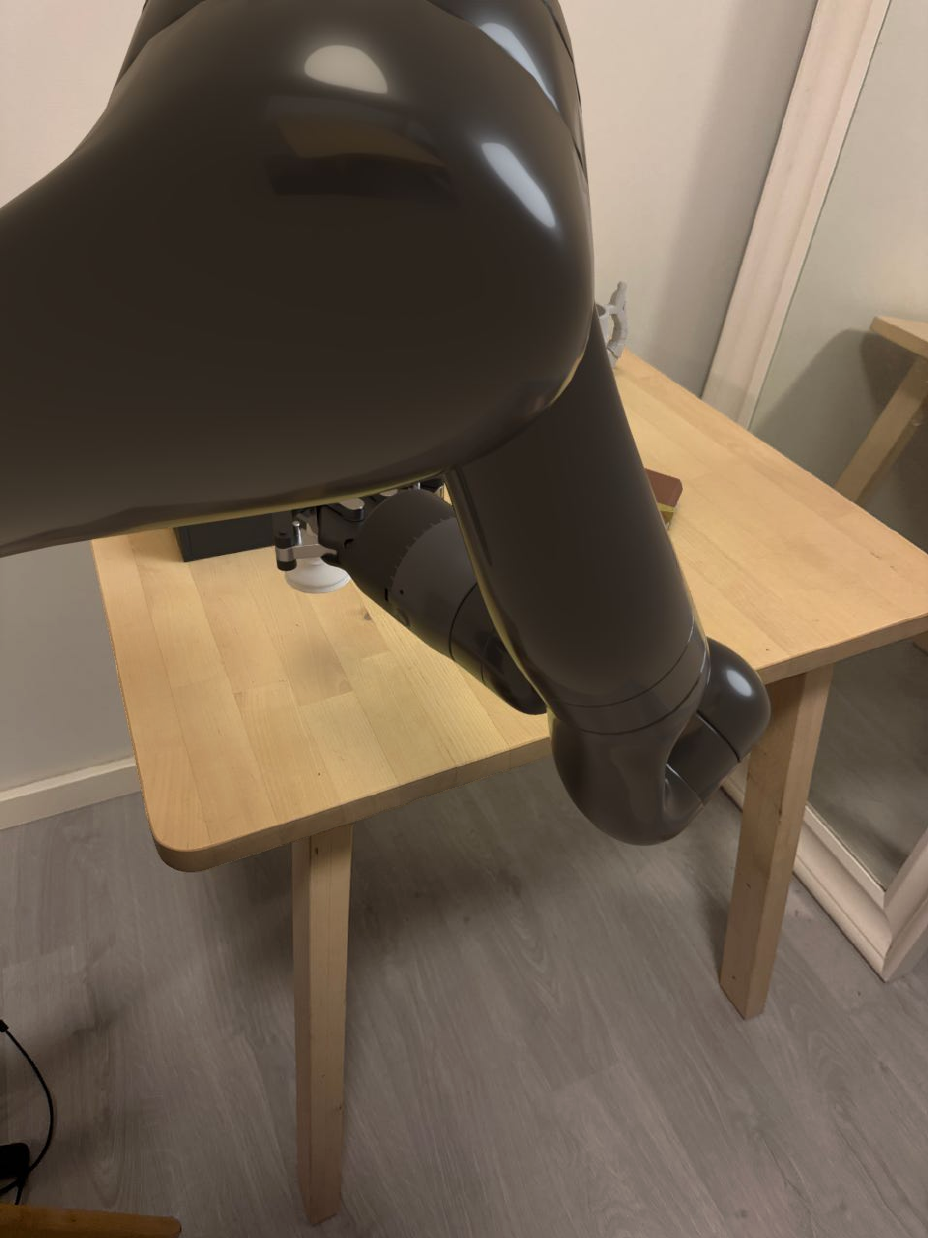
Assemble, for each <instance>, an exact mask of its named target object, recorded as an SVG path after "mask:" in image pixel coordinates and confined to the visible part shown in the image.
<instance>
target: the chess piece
mask: <svg viewBox="0 0 928 1238" xmlns="http://www.w3.org/2000/svg"><path fill="white" fill-rule="evenodd" d="M307 533H308V534H309V535H310V536H315V537H318V536H317V535H316V534H314V533H313V532H312V530H311V528H310V526H309V524H308V523H307ZM296 561H297V567H296V568H295V569H294V570H291V571H284V580H285V582H286V584H287V585H288V586H289V587H290V588H292V589H294V590H295V591H298V592H301V593H305V594H311V595H314V594H315V595H318V594H319V595H320V594H327V593H331V592H335V591H337V590H339V589H341V588H343V587H344V586H346V585H347V584H348V583H349V582H350V581H351V580H352V579H351V577H350V576H349V575H348V573H347V572H346V571H345V570H343V569H340V568H338V567H334V566H330V565H328V564H326V563H324V562H323V561H322V560H321V558H320V557H315V558H304V559H296Z"/></svg>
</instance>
